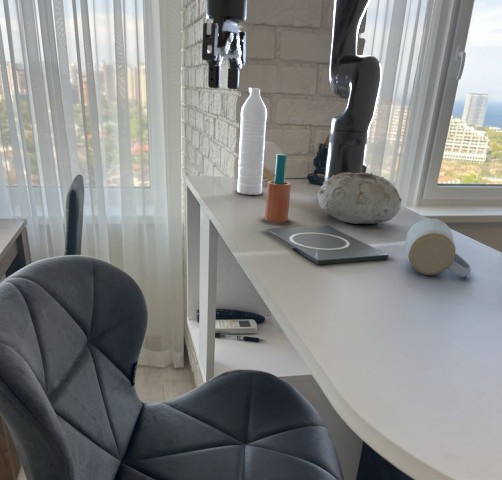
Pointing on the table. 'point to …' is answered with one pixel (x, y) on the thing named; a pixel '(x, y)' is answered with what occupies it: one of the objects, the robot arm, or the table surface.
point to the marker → (280, 169)
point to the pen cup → (277, 201)
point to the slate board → (327, 245)
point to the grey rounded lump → (359, 198)
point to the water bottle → (252, 144)
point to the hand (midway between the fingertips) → (223, 88)
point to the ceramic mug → (433, 249)
